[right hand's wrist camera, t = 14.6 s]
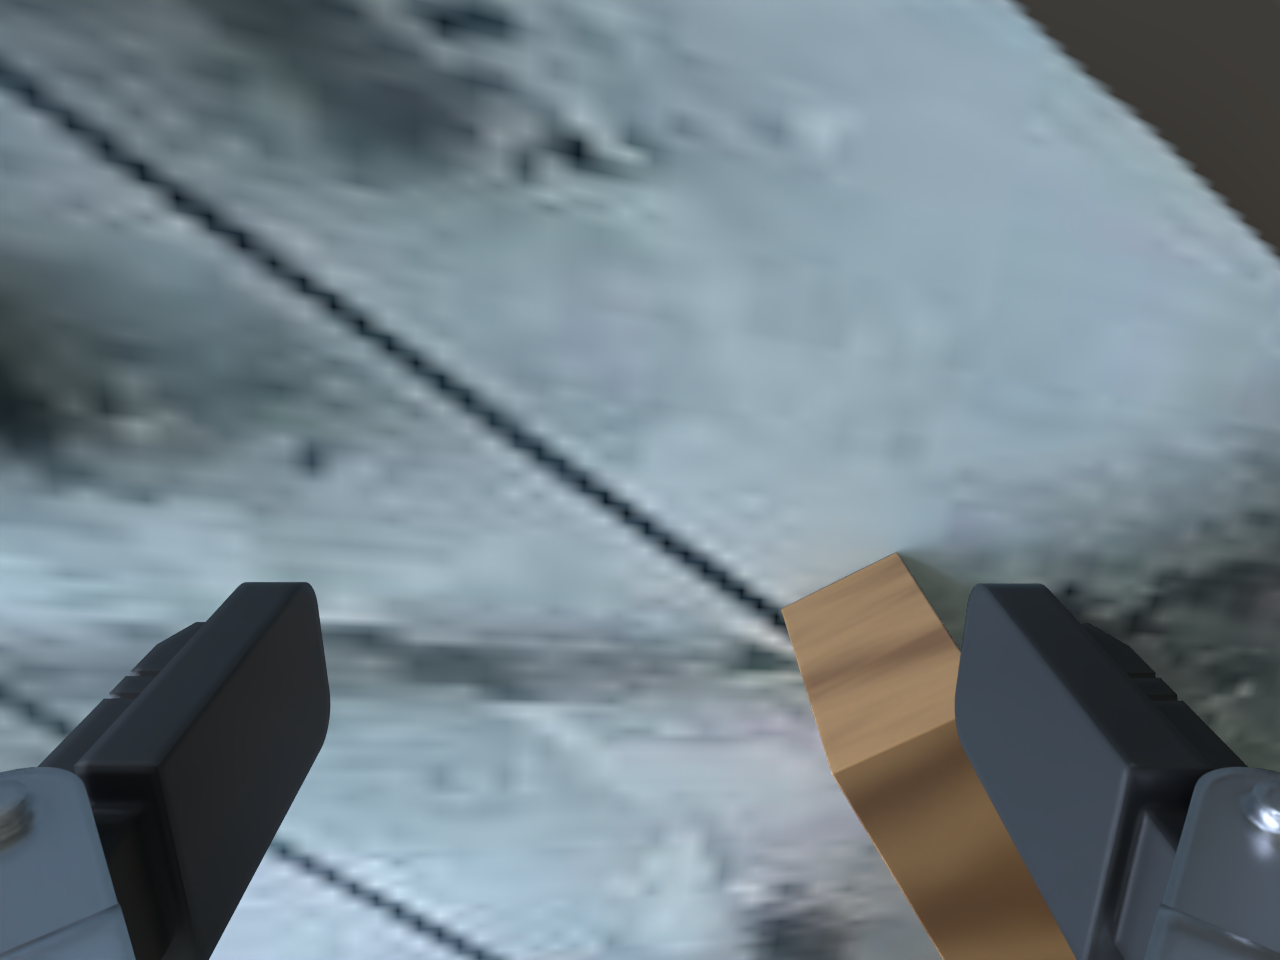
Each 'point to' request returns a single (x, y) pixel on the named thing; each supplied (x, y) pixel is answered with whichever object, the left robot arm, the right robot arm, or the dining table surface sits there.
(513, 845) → the dining table surface
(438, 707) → the dining table surface
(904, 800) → the box
